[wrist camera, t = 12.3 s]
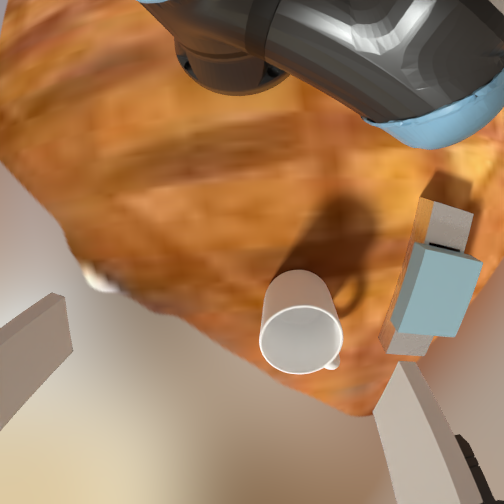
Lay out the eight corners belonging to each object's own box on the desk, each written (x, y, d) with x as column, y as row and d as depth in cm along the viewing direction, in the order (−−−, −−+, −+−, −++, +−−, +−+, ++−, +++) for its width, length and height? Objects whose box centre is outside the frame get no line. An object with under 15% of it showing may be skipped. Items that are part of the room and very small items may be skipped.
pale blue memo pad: (403, 234, 34) (425, 249, 28) (457, 247, 34) (483, 262, 27) (382, 307, 37) (397, 332, 31) (434, 314, 37) (454, 337, 30)
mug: (355, 321, 38) (374, 367, 29) (305, 353, 40) (310, 404, 31) (304, 254, 36) (312, 288, 27) (251, 292, 38) (241, 335, 29)
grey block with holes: (419, 196, 33) (434, 201, 29) (457, 208, 33) (473, 213, 29) (378, 337, 39) (385, 353, 35) (414, 341, 39) (424, 356, 35)
